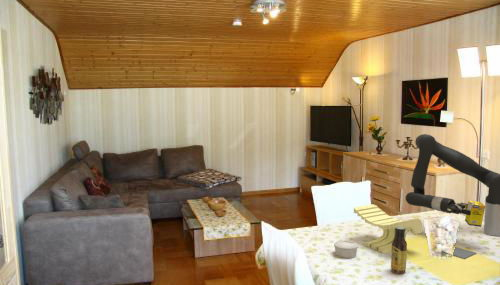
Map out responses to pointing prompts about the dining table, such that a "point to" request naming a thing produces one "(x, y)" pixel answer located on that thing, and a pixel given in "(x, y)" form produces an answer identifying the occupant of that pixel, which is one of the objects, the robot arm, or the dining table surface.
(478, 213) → the supplement box
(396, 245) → the sauce bottle
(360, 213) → the slatted curved stool
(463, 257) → the mat
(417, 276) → the dining table surface
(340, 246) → the ramekin
